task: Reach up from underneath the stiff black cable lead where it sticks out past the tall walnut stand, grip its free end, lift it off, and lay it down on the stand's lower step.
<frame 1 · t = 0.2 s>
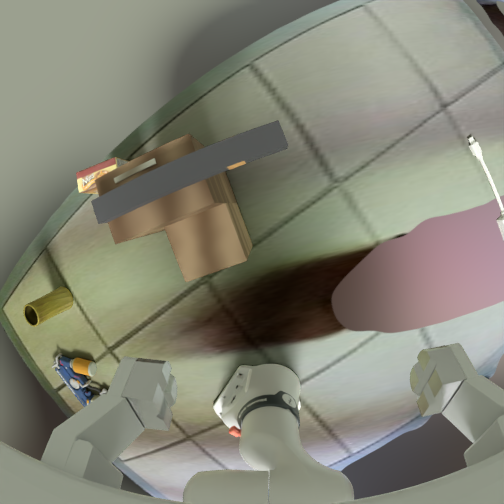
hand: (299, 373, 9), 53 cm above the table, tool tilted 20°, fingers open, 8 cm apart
lead: (185, 173, 35), point 26 cm above the table, touching stand
candy box: (132, 180, 61), on the table
stand: (197, 194, 61), on the table
toy blaster gun: (88, 378, 71), on the table
vase: (65, 297, 67), on the table
charging cable: (494, 199, 57), on the table
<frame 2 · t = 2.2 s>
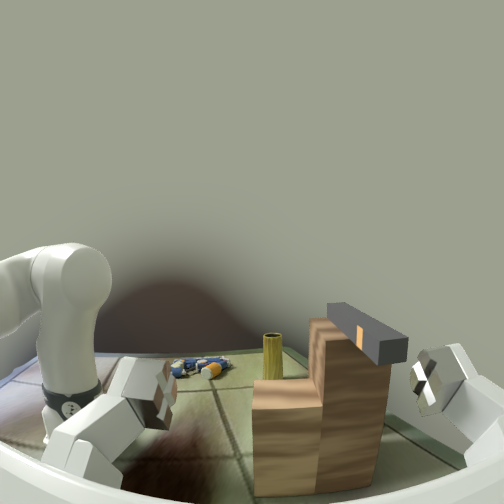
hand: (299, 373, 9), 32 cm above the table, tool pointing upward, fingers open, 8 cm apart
lead: (356, 334, 36), point 26 cm above the table, touching stand
stand: (334, 466, 41), on the table
toy blaster gun: (199, 373, 92), on the table
vase: (273, 381, 84), on the table
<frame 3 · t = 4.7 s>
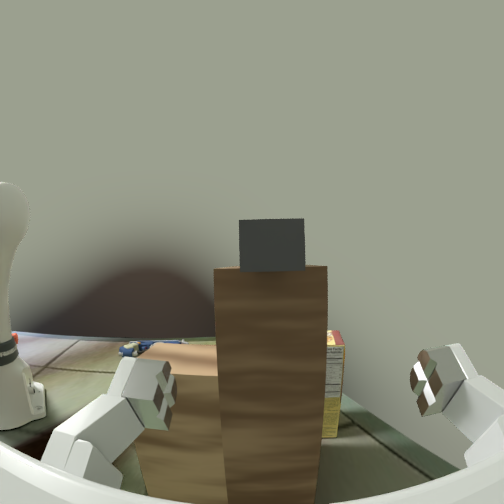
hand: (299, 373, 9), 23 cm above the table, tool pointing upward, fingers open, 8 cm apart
lead: (270, 267, 26), point 26 cm above the table, touching stand
candy box: (324, 425, 42), on the table
stand: (271, 474, 30), on the table
toy blaster gun: (154, 357, 82), on the table
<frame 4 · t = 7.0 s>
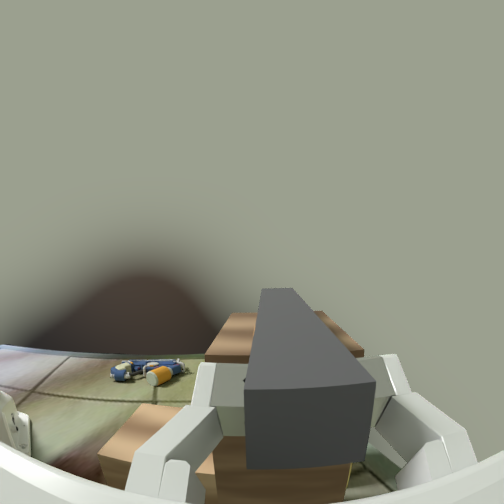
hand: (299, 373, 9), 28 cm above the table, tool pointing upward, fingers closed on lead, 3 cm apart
lead: (283, 344, 18), point 26 cm above the table, touching gripper, stand
toy blaster gun: (148, 378, 75), on the table
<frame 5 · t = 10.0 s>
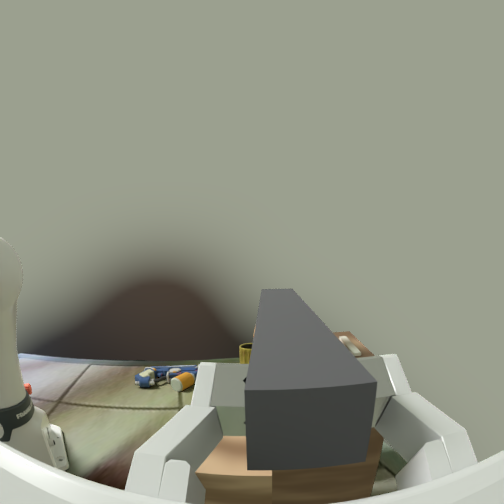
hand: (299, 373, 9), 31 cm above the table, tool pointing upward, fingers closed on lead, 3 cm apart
lead: (283, 345, 18), point 29 cm above the table, touching gripper
toy blaster gun: (171, 383, 80), on the table
vase: (252, 399, 69), on the table
when the fingers open (20 cm above the table, at t = 13.3 s): lead drops 1 cm, resting on stand.
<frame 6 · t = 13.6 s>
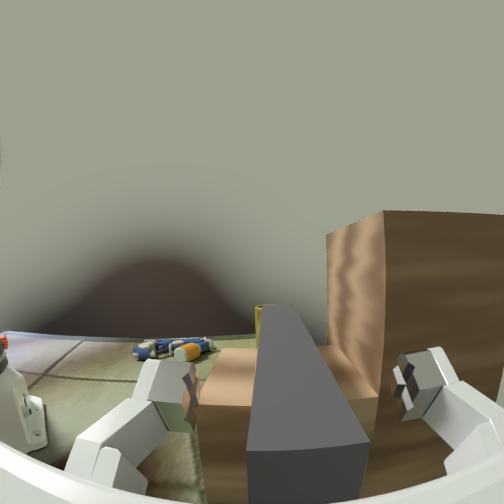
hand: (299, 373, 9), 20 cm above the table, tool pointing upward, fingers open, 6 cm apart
lead: (284, 370, 18), point 17 cm above the table, touching stand
toy blaster gun: (173, 357, 73), on the table
vase: (269, 371, 62), on the table
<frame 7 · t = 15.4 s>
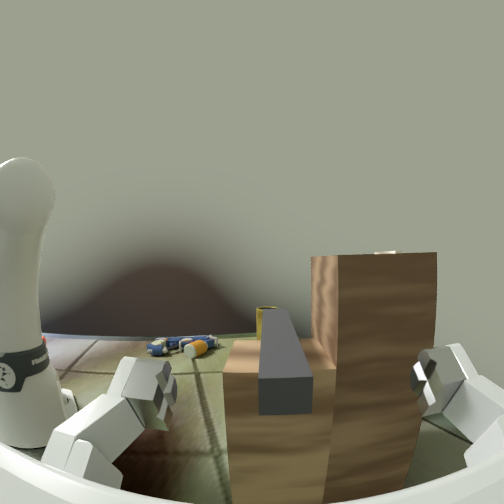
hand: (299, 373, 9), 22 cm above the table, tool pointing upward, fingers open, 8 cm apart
lead: (278, 353, 27), point 17 cm above the table, touching stand
stand: (349, 467, 29), on the table
toy blaster gun: (183, 353, 83), on the table
vase: (268, 364, 72), on the table
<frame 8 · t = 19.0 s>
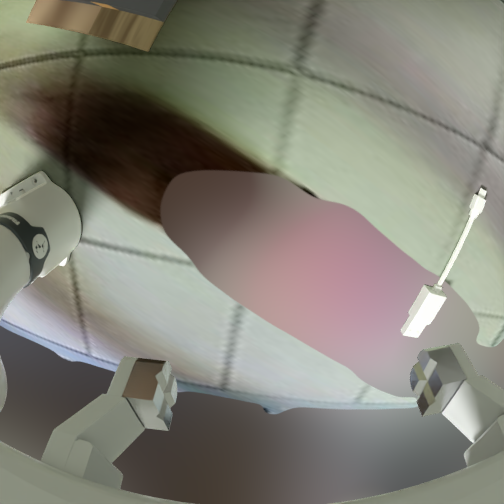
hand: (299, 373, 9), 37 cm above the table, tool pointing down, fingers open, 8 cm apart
charging cable: (443, 265, 50), on the table
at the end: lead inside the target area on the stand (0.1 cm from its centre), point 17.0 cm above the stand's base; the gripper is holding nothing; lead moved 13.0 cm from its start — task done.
